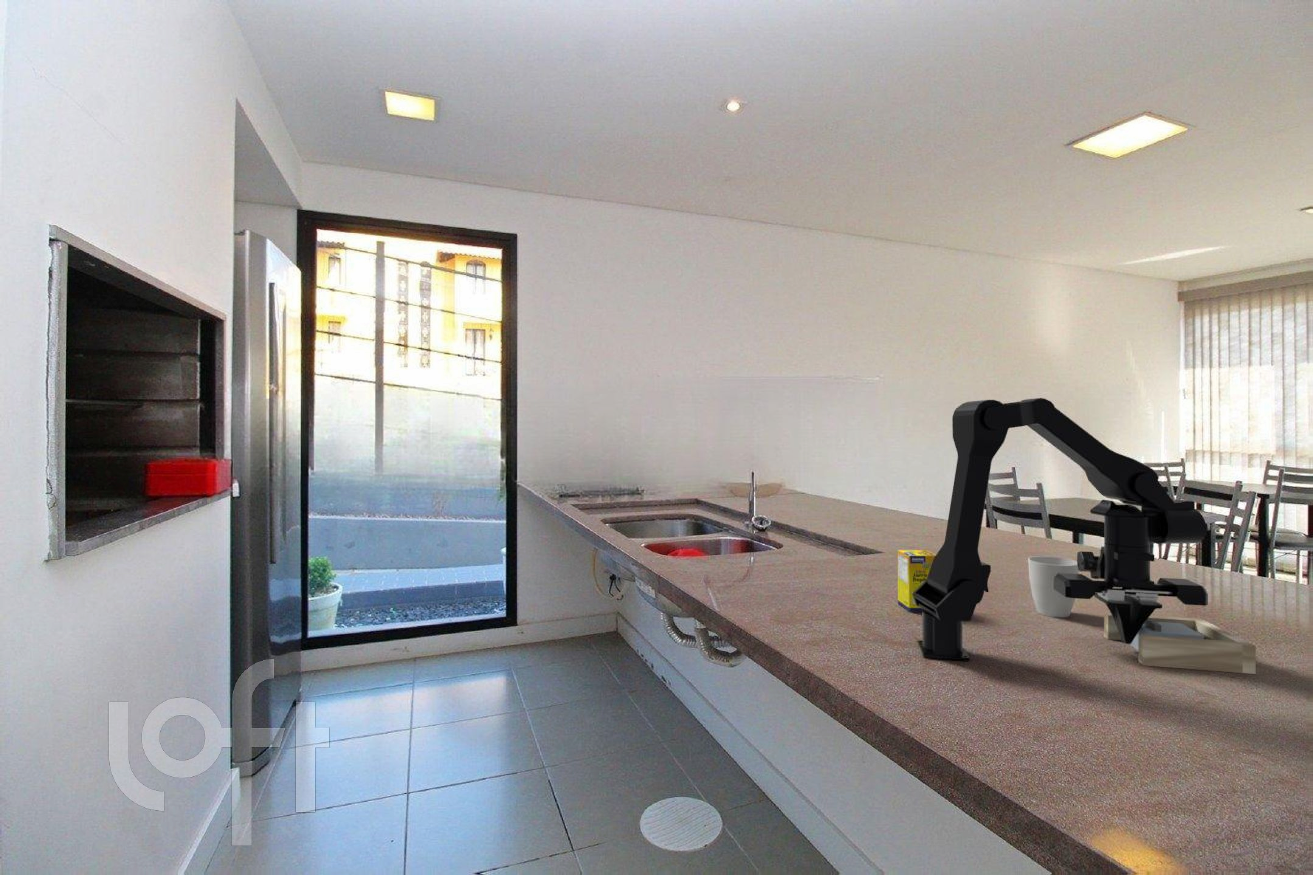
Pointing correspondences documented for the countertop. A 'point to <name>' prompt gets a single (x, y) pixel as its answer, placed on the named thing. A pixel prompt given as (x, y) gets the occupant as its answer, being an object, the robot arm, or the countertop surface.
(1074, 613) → the countertop surface
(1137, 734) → the countertop surface
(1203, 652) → the tray
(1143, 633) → the sliding lid
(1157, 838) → the countertop surface
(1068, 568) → the cup
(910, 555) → the supplement box
